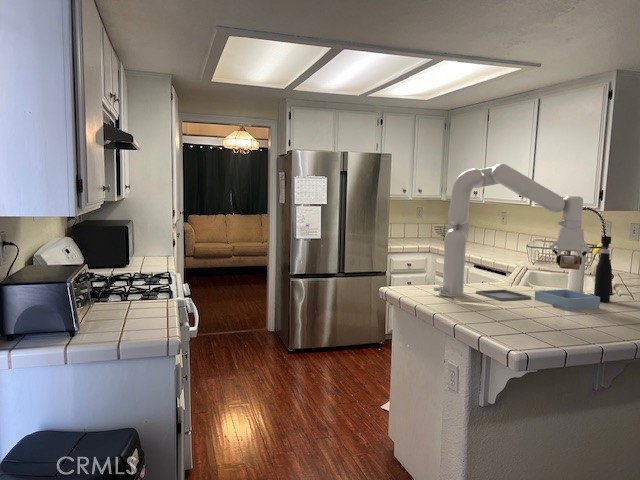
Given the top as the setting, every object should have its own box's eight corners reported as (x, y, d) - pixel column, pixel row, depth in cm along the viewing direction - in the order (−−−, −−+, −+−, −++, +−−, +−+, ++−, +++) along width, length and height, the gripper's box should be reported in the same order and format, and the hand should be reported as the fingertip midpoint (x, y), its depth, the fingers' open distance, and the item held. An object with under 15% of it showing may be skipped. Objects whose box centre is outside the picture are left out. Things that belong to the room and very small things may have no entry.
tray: (500, 303, 212) (501, 298, 212) (475, 295, 228) (475, 290, 228) (531, 301, 218) (531, 296, 218) (504, 294, 234) (504, 289, 234)
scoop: (560, 268, 206) (561, 256, 206) (558, 265, 217) (559, 254, 217) (579, 269, 204) (580, 257, 203) (575, 266, 215) (576, 255, 214)
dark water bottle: (593, 301, 222) (598, 236, 220) (593, 299, 228) (598, 235, 225) (609, 303, 219) (615, 237, 217) (609, 300, 225) (614, 236, 222)
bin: (567, 310, 200) (568, 299, 200) (534, 301, 217) (535, 290, 217) (599, 308, 207) (600, 297, 206) (564, 299, 223) (565, 289, 223)
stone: (563, 265, 210) (564, 256, 210) (562, 264, 214) (563, 255, 214) (573, 266, 209) (574, 257, 208) (572, 265, 212) (573, 256, 212)
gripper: (550, 224, 209) (547, 265, 210) (595, 226, 202) (592, 268, 204) (548, 223, 216) (546, 263, 217) (592, 225, 209) (589, 266, 211)
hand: (568, 265), depth 210 cm, fingers closed on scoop, 7 cm apart
